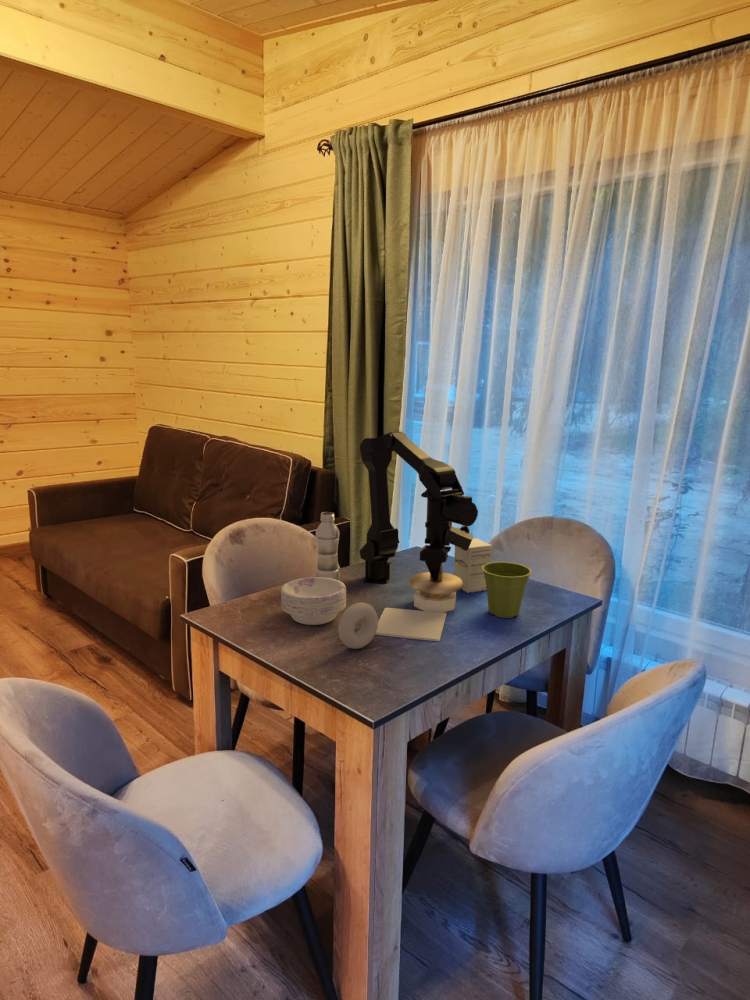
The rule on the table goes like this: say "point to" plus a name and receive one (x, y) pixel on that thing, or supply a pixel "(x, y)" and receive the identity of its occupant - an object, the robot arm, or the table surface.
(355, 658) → the table surface
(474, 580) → the supplement box
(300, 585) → the paper bowls
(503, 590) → the plant pot
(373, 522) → the robot arm
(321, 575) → the plastic bottle
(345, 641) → the donut
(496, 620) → the table surface
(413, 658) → the table surface
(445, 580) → the lid
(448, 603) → the dish
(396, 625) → the mat
